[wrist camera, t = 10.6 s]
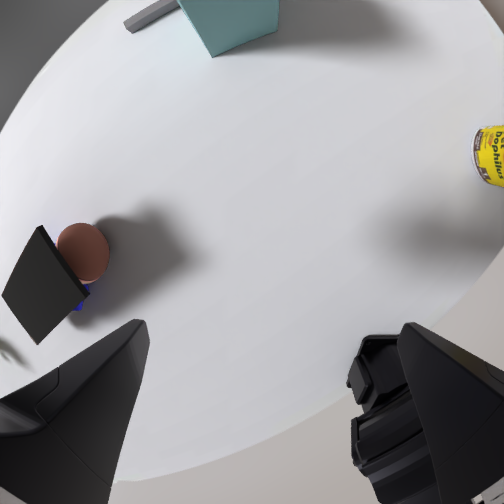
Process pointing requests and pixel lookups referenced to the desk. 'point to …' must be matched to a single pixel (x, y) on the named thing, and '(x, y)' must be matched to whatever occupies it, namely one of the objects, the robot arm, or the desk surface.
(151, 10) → the price rail
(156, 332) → the desk surface
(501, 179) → the supplement bottle
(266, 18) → the tea box
